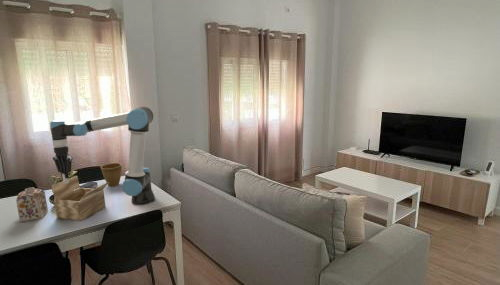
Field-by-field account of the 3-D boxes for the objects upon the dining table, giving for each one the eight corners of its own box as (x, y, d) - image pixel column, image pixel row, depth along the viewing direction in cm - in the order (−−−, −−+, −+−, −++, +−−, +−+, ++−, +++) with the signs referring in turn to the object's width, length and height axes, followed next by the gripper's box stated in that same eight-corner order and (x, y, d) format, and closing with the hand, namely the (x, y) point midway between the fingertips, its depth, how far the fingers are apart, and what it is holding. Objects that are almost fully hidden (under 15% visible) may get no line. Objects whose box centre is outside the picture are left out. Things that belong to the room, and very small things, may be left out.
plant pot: (106, 182, 245) (104, 163, 241) (126, 181, 246) (124, 162, 243) (100, 189, 230) (97, 168, 227) (120, 188, 232) (118, 168, 228)
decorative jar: (41, 219, 182) (37, 190, 178) (19, 221, 179) (13, 193, 175) (48, 211, 193) (44, 184, 189) (27, 213, 190) (22, 186, 186)
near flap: (102, 189, 194) (102, 189, 194) (79, 200, 176) (79, 201, 176) (109, 181, 191) (109, 182, 191) (86, 192, 174) (86, 193, 174)
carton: (106, 206, 198) (104, 189, 195) (80, 221, 178) (78, 202, 175) (83, 204, 202) (81, 187, 200) (56, 218, 182) (53, 199, 180)
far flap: (55, 198, 181) (54, 198, 181) (80, 187, 198) (79, 187, 199) (52, 185, 179) (51, 185, 179) (77, 175, 197) (76, 175, 197)
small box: (88, 201, 207) (86, 186, 205) (80, 200, 209) (78, 186, 206) (99, 195, 217) (97, 181, 215) (91, 195, 219) (89, 181, 217)
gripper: (74, 145, 185) (79, 181, 190) (57, 144, 189) (63, 180, 193) (64, 147, 178) (69, 185, 183) (46, 147, 181) (52, 184, 186)
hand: (66, 183), depth 188 cm, fingers closed
